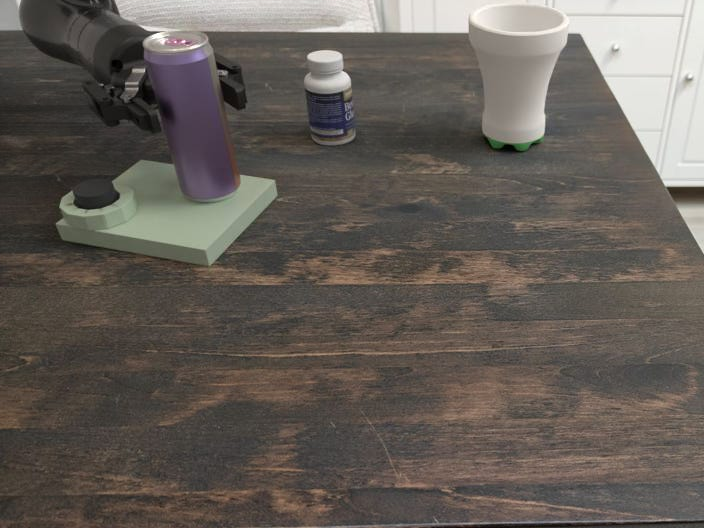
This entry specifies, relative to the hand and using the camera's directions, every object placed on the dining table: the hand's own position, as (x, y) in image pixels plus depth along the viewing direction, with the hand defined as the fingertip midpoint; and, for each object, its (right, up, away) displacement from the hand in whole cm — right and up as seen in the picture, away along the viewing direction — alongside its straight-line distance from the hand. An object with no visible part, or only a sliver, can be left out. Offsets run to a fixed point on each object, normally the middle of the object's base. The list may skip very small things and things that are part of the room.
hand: (200, 110), depth 69 cm
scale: (-5, -9, +7) cm, 12 cm away
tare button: (-11, -8, +3) cm, 14 cm away
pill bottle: (+8, +4, +21) cm, 23 cm away
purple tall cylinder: (-1, -6, +7) cm, 10 cm away
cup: (+30, +4, +22) cm, 38 cm away
